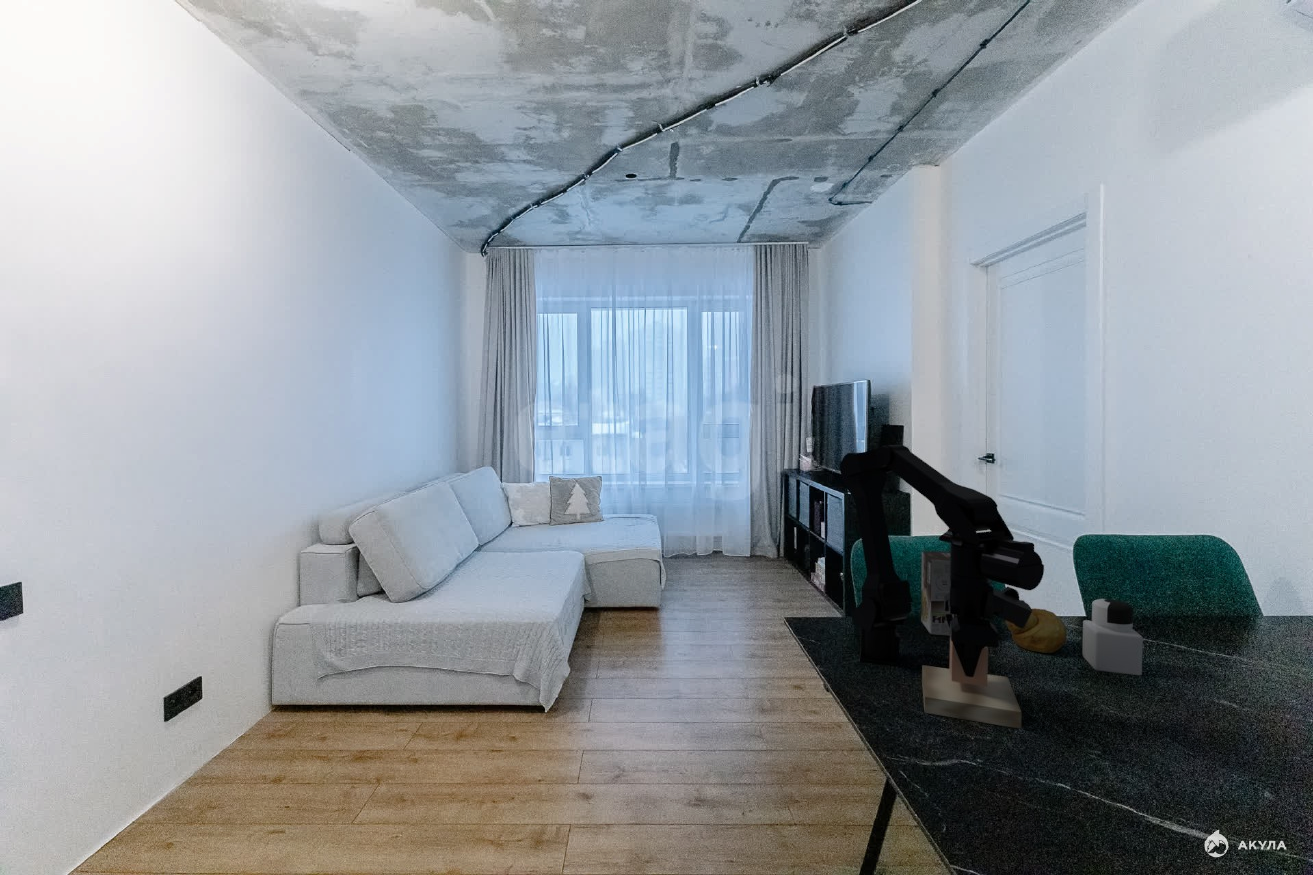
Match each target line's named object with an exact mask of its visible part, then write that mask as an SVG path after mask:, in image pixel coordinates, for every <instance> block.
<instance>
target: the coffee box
mask: <svg viewBox="0 0 1313 875" xmlns="http://www.w3.org/2000/svg"><path fill="white" fill-rule="evenodd" d="M949 575H950V551H944V550H943V551H941V550H936V551H935V550H934V551H933V550H931V551H929V550H928V551H927V550H922V551H921V590H920V591H921V595H920V597H921V602H920V603H921V604H920V605H921V606H920V607H921V608H920V609H921V613H920V614H921V616H920V619H921V620H920V622H921V623H922V624H923V626H924V627H925V628H926V630H927V631H928V633H929V634H930V635H935V636H936V635H938V636H939V635H940V636H949V637H950V633H949V631H950V628H949V625H948V622H947V619H946V614H950V611H945V609H944V596H945V595H947V594H948V593H949V591H950V584H949Z"/></svg>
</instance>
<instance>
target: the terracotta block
mask: <svg viewBox="0 0 1313 875" xmlns="http://www.w3.org/2000/svg"><path fill="white" fill-rule="evenodd" d="M988 664H989V647H984V648H983V649H982V651H981V654H980V657H979V660H978V663H977V667H976V670H975V673H974V676H973V677H968V676H966V675H965V673H964V670H963V668H962V665H961V663H960V660H959V657H958V655H957V652H956V650H955V647H954V645H953V642H952V641H951V638H950V637H949V665H948V666H949V668H948V669H950V675H951V680H952V681H954V682H960V683H967V684H974V685H980V686H987V678H988V673H989V672H988V670H989V669H988V668H989V666H988Z"/></svg>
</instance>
